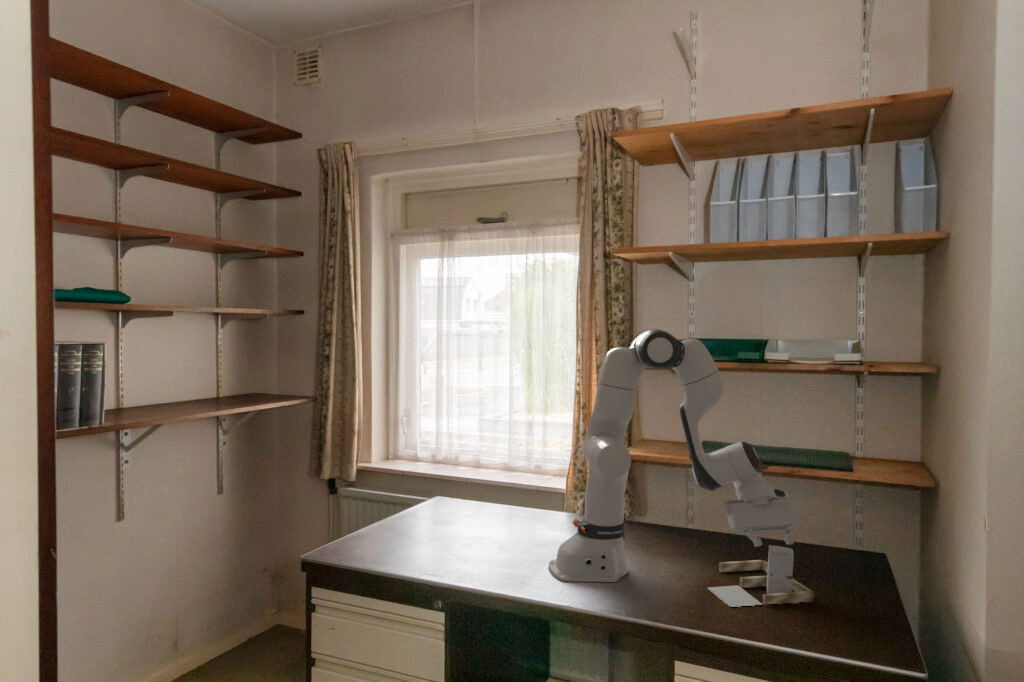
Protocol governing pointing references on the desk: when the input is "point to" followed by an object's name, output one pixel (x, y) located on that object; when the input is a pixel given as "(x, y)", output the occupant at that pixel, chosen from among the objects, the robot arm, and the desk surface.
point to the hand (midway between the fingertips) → (774, 544)
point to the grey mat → (734, 596)
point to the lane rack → (755, 581)
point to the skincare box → (779, 569)
